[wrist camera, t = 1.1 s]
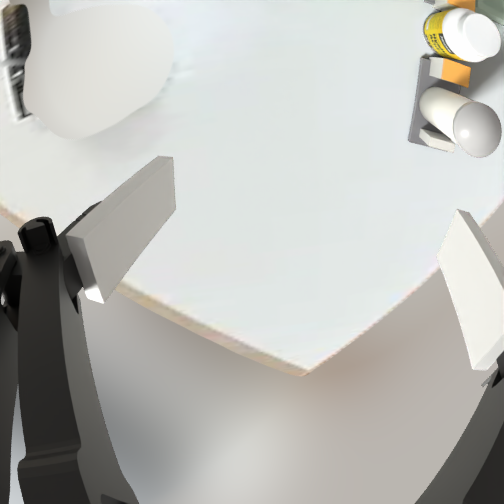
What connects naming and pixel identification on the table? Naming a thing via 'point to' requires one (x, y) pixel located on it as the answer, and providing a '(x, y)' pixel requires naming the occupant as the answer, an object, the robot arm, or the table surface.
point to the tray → (491, 9)
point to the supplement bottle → (461, 35)
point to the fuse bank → (451, 104)
